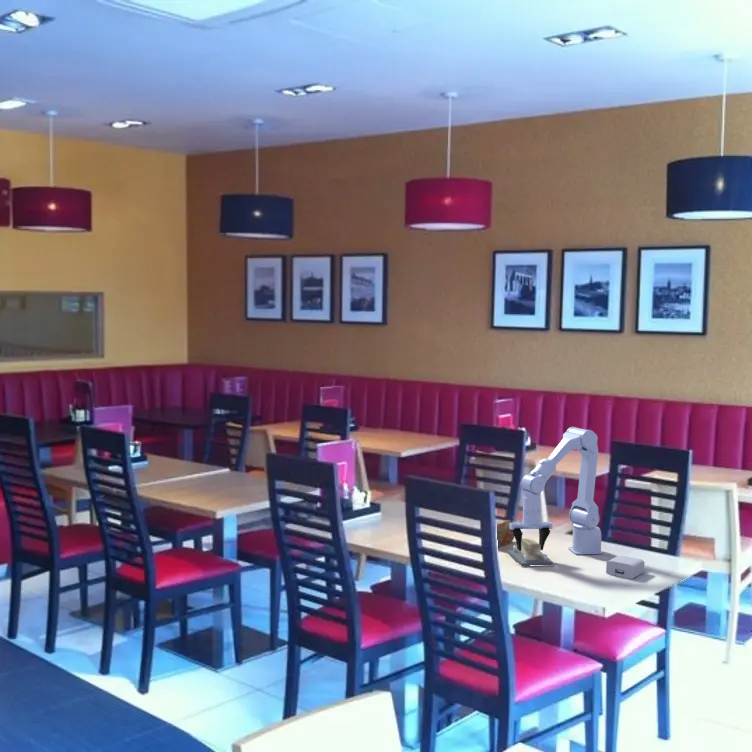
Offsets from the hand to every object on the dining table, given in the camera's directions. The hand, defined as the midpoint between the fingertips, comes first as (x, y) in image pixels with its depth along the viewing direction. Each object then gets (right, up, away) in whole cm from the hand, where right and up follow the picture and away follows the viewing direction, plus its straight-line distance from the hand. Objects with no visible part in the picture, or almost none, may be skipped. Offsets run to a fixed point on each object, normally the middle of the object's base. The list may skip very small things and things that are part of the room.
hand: (530, 549), depth 315 cm
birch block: (0, -2, 0) cm, 2 cm away
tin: (-7, -2, +19) cm, 21 cm away
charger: (+30, -5, -12) cm, 33 cm away
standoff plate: (0, -3, 0) cm, 3 cm away
